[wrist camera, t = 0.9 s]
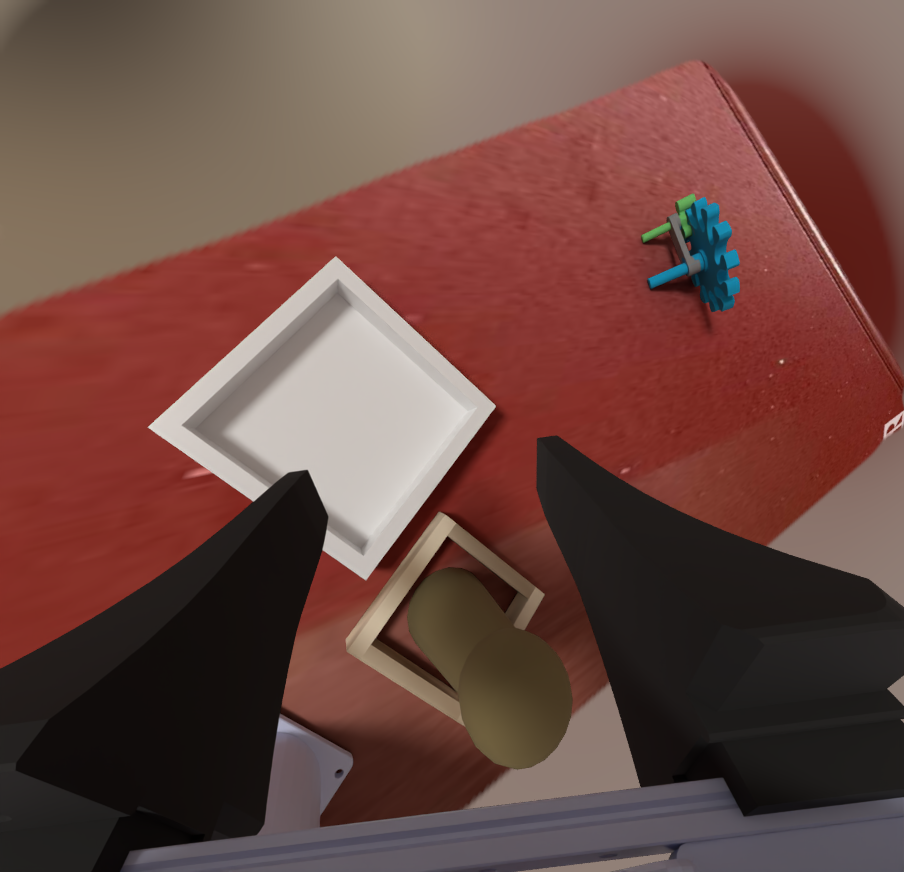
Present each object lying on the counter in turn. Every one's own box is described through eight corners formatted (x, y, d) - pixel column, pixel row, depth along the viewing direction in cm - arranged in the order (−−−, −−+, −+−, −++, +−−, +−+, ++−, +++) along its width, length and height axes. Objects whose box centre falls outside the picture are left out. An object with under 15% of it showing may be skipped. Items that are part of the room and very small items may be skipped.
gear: (725, 320, 35) (764, 278, 26) (660, 344, 37) (674, 313, 28) (688, 225, 36) (711, 153, 27) (627, 253, 38) (631, 197, 29)
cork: (501, 593, 26) (615, 680, 15) (458, 670, 24) (552, 825, 14) (439, 551, 24) (520, 615, 14) (389, 630, 23) (438, 768, 13)
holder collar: (459, 712, 24) (467, 728, 23) (345, 639, 22) (346, 651, 20) (533, 587, 27) (544, 594, 25) (438, 511, 25) (445, 514, 23)
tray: (362, 568, 23) (365, 580, 20) (169, 431, 20) (147, 427, 17) (481, 411, 26) (496, 406, 24) (335, 277, 23) (335, 256, 21)
